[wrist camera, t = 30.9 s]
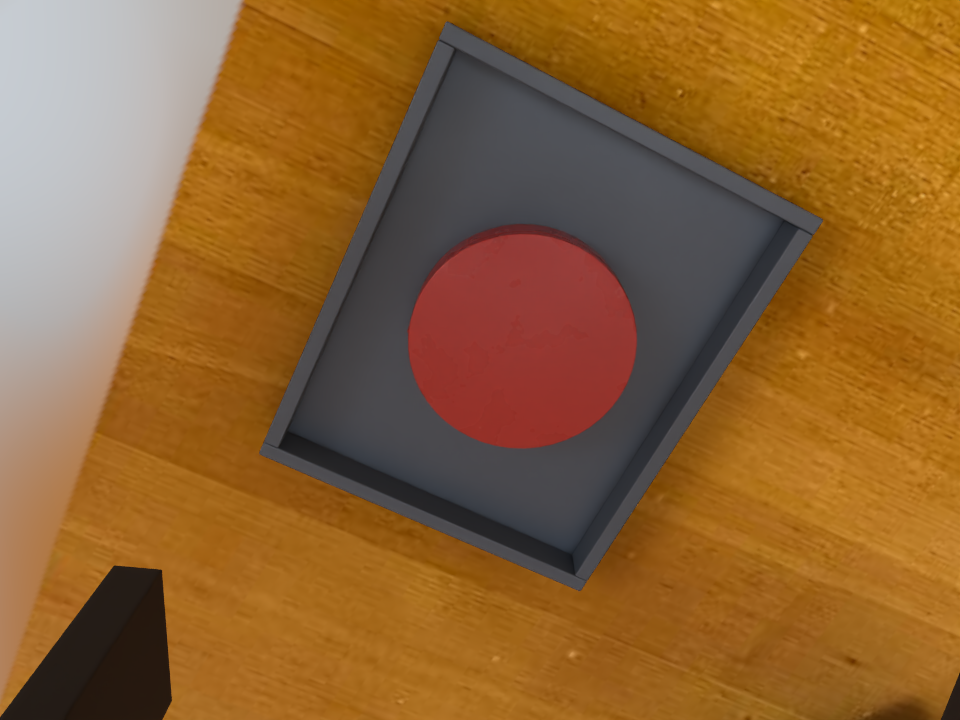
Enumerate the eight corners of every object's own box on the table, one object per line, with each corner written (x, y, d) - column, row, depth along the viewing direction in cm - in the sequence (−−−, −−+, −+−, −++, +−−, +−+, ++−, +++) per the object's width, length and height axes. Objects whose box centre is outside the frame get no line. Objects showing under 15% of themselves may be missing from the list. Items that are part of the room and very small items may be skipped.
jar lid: (404, 418, 31) (399, 438, 30) (417, 213, 28) (412, 222, 27) (612, 438, 32) (618, 458, 30) (647, 234, 29) (655, 245, 27)
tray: (450, 23, 26) (446, 20, 25) (804, 209, 28) (824, 220, 27) (271, 432, 32) (258, 454, 30) (576, 564, 34) (580, 592, 32)
